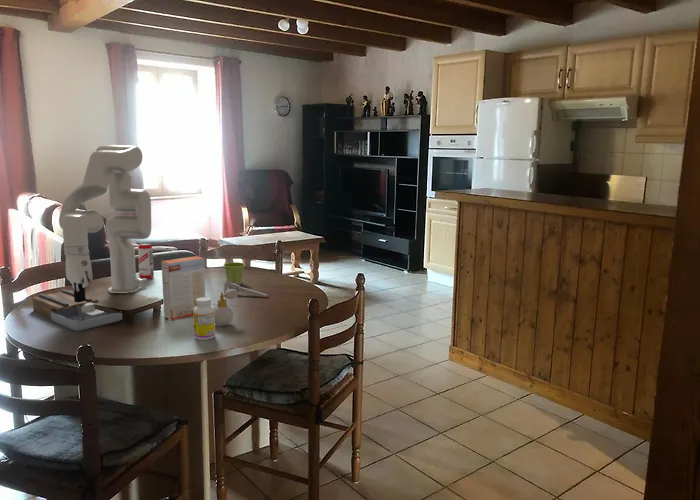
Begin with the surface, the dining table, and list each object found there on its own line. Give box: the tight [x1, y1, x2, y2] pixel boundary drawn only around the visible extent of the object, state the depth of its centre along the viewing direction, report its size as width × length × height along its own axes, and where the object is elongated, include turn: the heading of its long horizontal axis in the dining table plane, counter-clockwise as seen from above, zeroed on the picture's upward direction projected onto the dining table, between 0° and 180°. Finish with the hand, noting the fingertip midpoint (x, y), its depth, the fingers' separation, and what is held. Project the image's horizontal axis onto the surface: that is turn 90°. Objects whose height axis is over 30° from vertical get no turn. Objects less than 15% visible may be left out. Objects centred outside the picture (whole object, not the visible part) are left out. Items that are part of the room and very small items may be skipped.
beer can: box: [137, 242, 155, 281], centre depth 253 cm, size 6×6×16 cm
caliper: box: [223, 279, 268, 296], centre depth 230 cm, size 20×1×6 cm, turn 75°
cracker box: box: [161, 255, 207, 321], centre depth 200 cm, size 14×6×21 cm, turn 135°
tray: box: [50, 307, 123, 333], centre depth 194 cm, size 16×18×3 cm
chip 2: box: [84, 309, 106, 321], centre depth 192 cm, size 5×5×3 cm
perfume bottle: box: [214, 288, 239, 327], centre depth 193 cm, size 8×10×12 cm
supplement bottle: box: [192, 296, 216, 341], centre depth 179 cm, size 7×7×13 cm
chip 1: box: [77, 302, 96, 321], centre depth 194 cm, size 5×5×3 cm
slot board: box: [31, 288, 99, 319], centre depth 202 cm, size 14×20×6 cm
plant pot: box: [222, 261, 246, 284], centre depth 249 cm, size 9×9×9 cm
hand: (80, 301), depth 195 cm, fingers closed
